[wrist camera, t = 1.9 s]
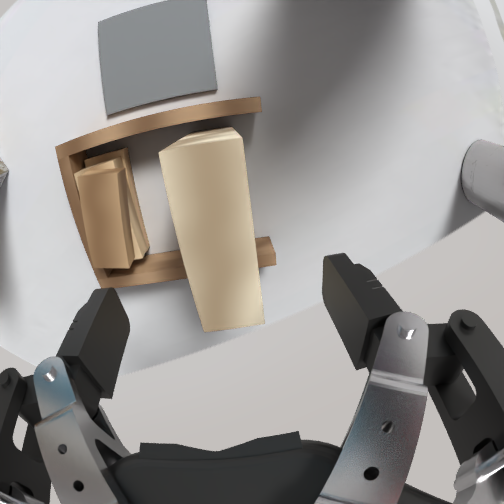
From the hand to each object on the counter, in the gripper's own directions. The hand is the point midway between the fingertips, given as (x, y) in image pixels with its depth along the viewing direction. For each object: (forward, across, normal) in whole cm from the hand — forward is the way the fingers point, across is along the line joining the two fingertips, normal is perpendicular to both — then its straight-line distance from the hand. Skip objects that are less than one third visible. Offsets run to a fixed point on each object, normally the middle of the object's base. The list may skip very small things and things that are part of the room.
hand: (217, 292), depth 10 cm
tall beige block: (+16, 0, 0) cm, 16 cm away
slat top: (+13, +9, 0) cm, 16 cm away
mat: (+16, +4, -13) cm, 21 cm away
